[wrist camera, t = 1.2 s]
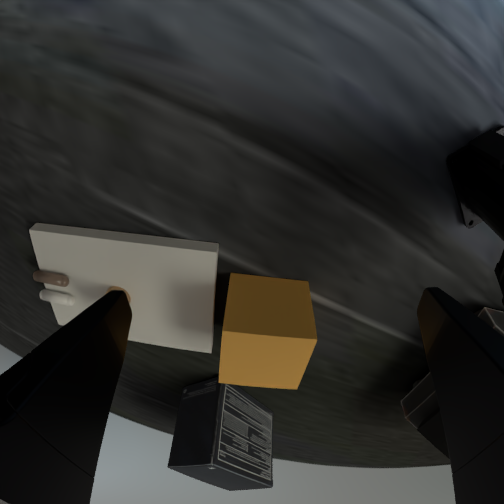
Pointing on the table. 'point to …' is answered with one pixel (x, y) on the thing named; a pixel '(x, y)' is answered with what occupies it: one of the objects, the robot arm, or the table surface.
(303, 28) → the table surface
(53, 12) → the table surface
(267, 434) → the small box
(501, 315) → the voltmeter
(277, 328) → the mustard yellow cube
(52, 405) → the robot arm
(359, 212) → the table surface
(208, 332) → the plate
